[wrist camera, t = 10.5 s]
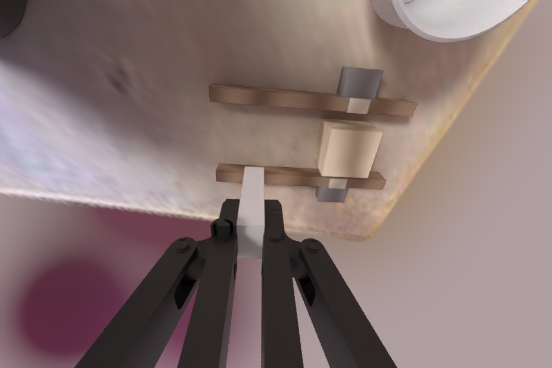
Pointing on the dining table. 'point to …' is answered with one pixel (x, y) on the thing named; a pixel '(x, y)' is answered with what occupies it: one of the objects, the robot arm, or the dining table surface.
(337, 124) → the block
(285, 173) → the beam slot
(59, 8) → the dining table surface
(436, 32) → the teacup
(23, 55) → the dining table surface
